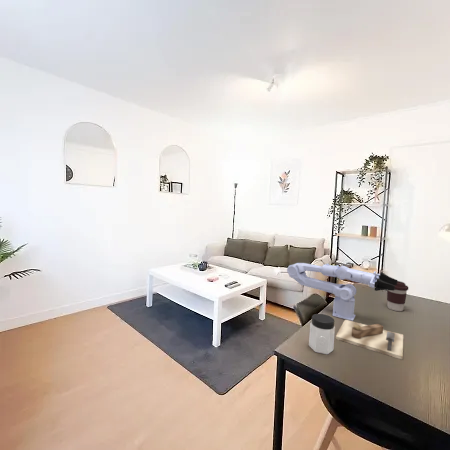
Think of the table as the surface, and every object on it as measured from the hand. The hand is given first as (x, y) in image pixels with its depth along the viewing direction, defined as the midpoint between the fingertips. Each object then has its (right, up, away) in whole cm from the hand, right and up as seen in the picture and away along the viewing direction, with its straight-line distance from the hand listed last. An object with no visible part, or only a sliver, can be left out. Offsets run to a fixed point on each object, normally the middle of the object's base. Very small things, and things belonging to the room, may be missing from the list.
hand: (396, 285), depth 116 cm
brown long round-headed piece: (-16, -19, -6) cm, 26 cm away
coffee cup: (+17, -19, +27) cm, 37 cm away
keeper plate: (-15, -21, -7) cm, 27 cm away
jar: (-39, -21, -16) cm, 47 cm away
